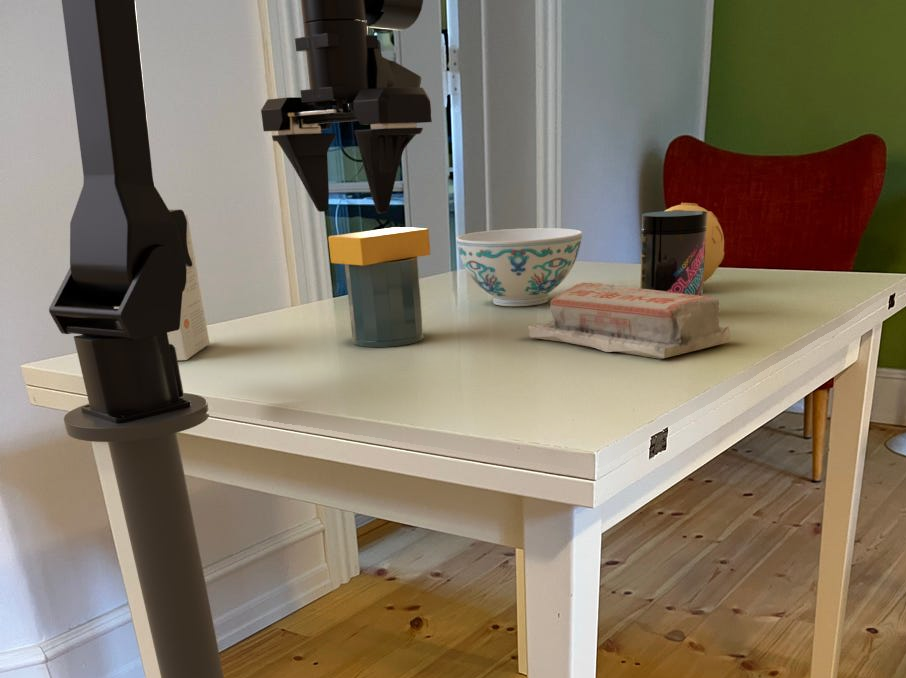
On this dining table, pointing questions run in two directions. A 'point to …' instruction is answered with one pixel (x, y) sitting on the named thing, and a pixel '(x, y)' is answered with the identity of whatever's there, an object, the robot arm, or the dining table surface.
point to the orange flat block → (379, 246)
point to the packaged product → (633, 320)
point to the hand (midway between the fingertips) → (352, 212)
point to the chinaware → (519, 262)
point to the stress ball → (708, 239)
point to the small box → (190, 314)
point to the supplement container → (673, 251)
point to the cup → (385, 303)
